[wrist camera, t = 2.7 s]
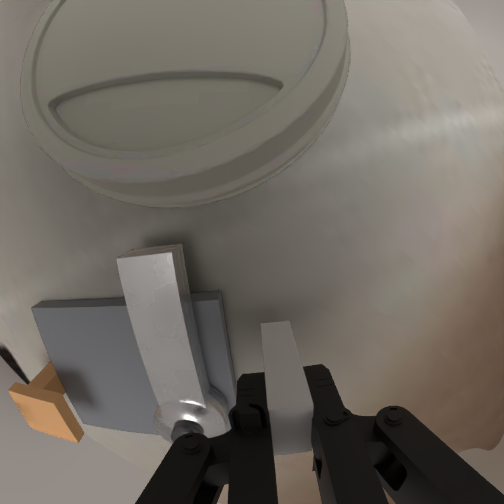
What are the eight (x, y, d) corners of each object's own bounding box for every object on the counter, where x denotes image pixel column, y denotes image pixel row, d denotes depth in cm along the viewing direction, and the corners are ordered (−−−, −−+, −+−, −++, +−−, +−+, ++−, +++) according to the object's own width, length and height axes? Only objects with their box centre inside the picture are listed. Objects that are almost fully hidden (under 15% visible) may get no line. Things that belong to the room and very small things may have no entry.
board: (41, 300, 18) (31, 307, 16) (220, 290, 18) (218, 299, 16) (89, 414, 20) (83, 423, 19) (243, 423, 20) (243, 435, 19)
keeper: (45, 353, 19) (8, 390, 13) (90, 357, 19) (53, 403, 13) (61, 388, 20) (31, 427, 14) (107, 395, 20) (78, 443, 14)
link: (232, 426, 18) (230, 460, 15) (171, 426, 18) (162, 457, 15) (198, 241, 15) (184, 256, 12) (118, 250, 15) (90, 266, 12)
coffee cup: (124, 148, 16) (-30, 115, 4) (205, 42, 14) (158, -96, 2) (235, 224, 17) (206, 309, 5) (318, 111, 15) (427, 6, 4)
